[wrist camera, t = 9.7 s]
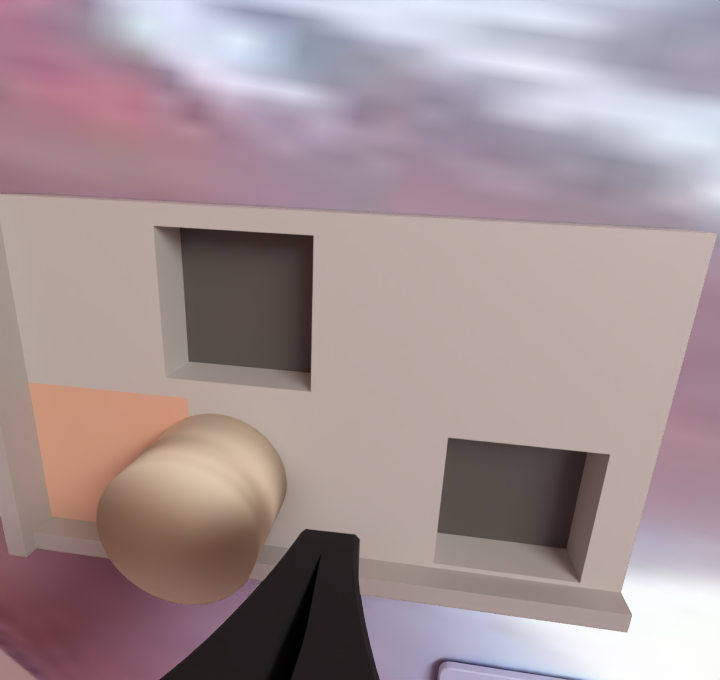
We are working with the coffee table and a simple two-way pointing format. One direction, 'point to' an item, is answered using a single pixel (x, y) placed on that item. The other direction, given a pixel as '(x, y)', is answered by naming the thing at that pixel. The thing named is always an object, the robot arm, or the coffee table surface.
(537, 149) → the coffee table surface
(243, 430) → the beige rounded knob
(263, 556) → the trap board
